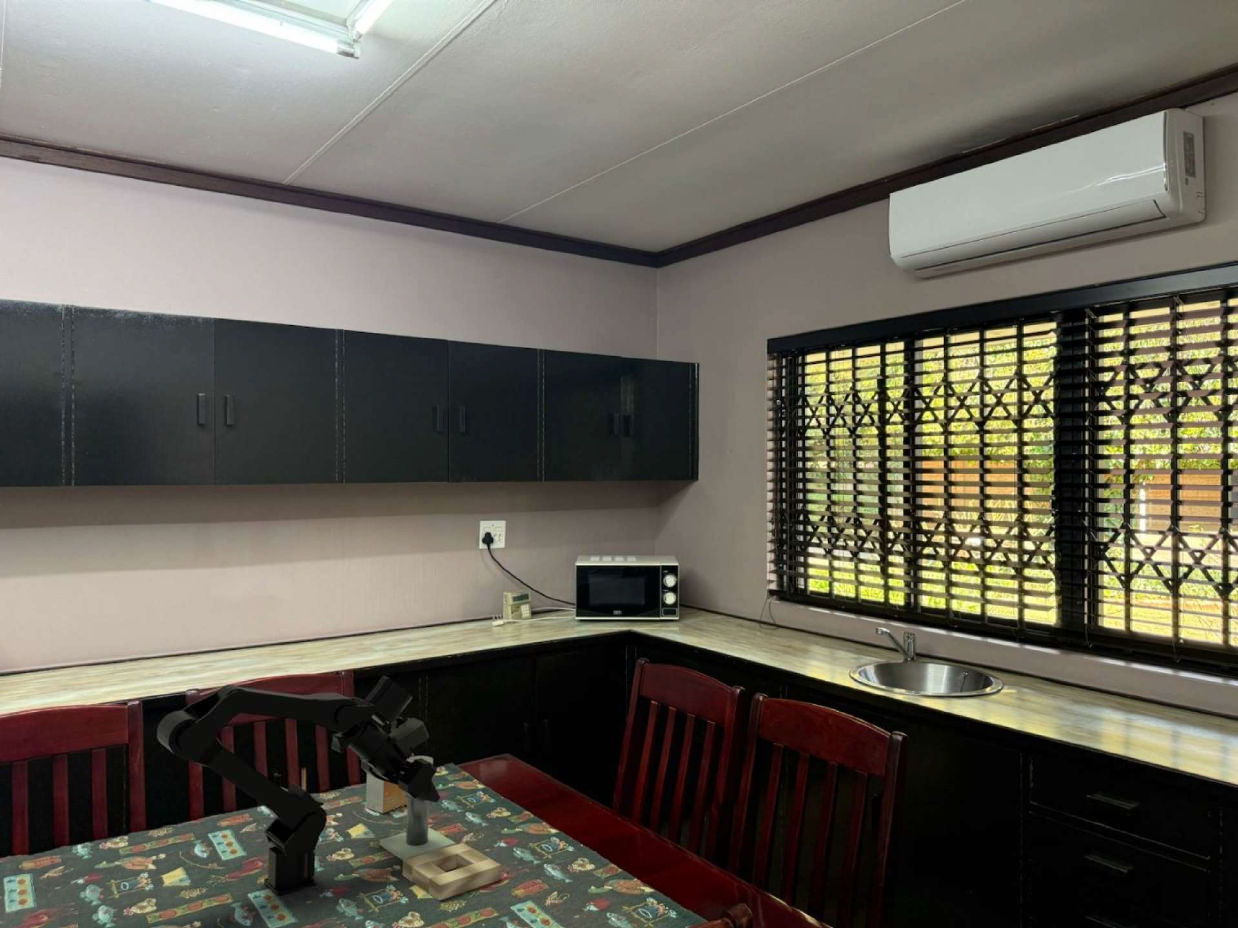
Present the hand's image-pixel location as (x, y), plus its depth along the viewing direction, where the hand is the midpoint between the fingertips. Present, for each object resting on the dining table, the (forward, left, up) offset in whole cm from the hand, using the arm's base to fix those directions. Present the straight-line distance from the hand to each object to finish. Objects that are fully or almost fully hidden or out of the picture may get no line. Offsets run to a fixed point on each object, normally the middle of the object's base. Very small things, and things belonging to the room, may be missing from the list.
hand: (425, 793), depth 167 cm
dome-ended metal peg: (-2, 0, -9) cm, 9 cm away
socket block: (-3, -15, -10) cm, 18 cm away
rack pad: (-1, 0, -10) cm, 10 cm away
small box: (+5, +22, -10) cm, 25 cm away
